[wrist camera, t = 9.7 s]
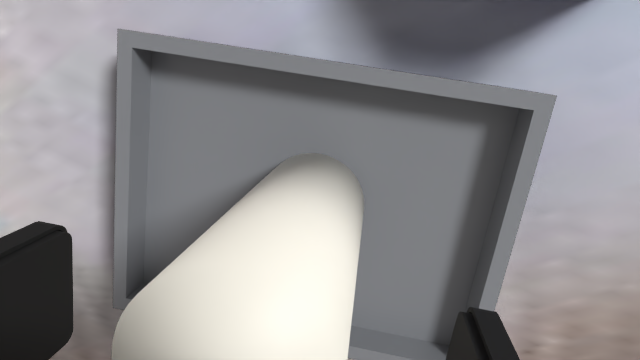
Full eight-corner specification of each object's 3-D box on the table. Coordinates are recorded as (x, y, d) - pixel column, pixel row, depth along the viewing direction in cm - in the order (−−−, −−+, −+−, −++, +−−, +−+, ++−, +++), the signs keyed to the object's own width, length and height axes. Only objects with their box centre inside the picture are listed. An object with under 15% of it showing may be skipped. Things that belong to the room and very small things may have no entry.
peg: (372, 163, 18) (364, 296, 7) (354, 260, 19) (323, 499, 8) (268, 144, 18) (114, 244, 8) (256, 240, 19) (108, 446, 9)
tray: (532, 91, 17) (556, 95, 15) (461, 347, 20) (472, 384, 18) (151, 33, 19) (117, 28, 16) (142, 281, 22) (112, 307, 19)
